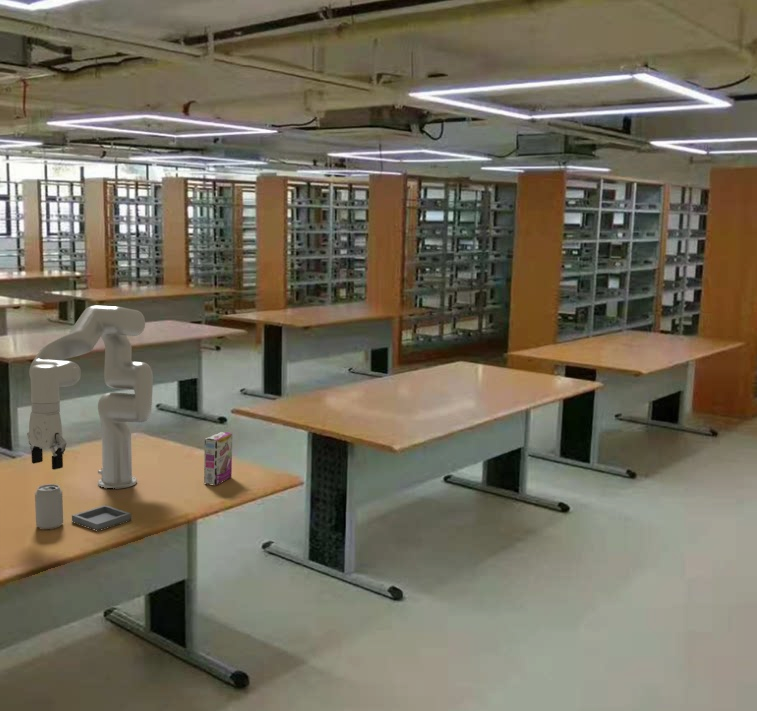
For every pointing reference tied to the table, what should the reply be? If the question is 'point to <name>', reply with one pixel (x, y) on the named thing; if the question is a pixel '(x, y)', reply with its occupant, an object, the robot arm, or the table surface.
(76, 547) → the table surface
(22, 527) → the table surface
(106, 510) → the tray
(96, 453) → the table surface
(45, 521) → the can
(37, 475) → the table surface
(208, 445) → the candy bar box
